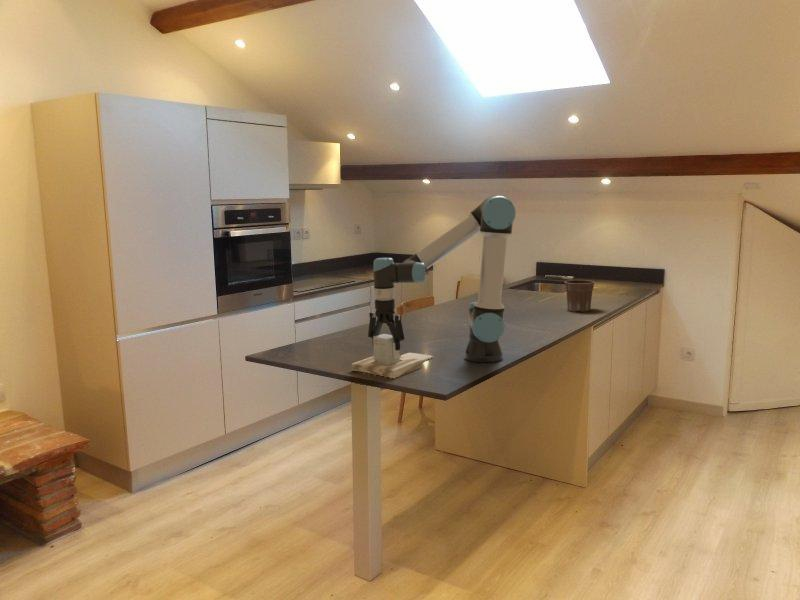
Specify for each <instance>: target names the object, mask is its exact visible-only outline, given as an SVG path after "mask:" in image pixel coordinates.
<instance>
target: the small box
mask: <svg viewBox="0 0 800 600" xmlns="http://www.w3.org/2000/svg"><path fill="white" fill-rule="evenodd" d="M393 342H394V339H393V337H392V334H387V333H382V334H381V333H380V334H379V335H377V336H373V339H372V346H373V345H374V347H373V356H374V364H378V365H384V366H390V365H393V364H395V363H398V362H400V356H401V355H399V358H397V359H393Z"/></svg>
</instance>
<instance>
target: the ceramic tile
mask: <svg viewBox="0 0 800 600" xmlns="http://www.w3.org/2000/svg"><path fill="white" fill-rule="evenodd" d="M400 356H401V357H407V358H414V359H420V360H422V363H425V362H426V360H427V361H429V360H432V359H433V358H434V355H429V354H424V353H415V352H407V353H404V354H402V355H400ZM431 358H432V359H431ZM428 359H429V360H428Z"/></svg>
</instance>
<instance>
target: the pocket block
mask: <svg viewBox="0 0 800 600" xmlns="http://www.w3.org/2000/svg"><path fill="white" fill-rule="evenodd" d="M399 356H400V362H398V363H395V364H393V365H390V366H384V365H378V364H374V355H373V356H369V357H367V358H364V359H362V360H358V361H355V362H353V363H351V369H352V368H353V369H357V370H361V371H364V372H368V373H372V374H376V375H380V376H379V377H381V376H384V377H383V378H387V377H389V378H388V379H392V378H394V379H397V378H399V377H402V376H404V375H406V373H407V374H409V373H411V372H413V371H417V370H418V369H421V368H422V367H423V366H422V365H423V364H422V363H423V362H422V360H420V359H414V358H407V357H401V355H399ZM376 375H375V376H376ZM401 375H402V376H401ZM396 377H397V378H396Z"/></svg>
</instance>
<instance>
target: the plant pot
mask: <svg viewBox="0 0 800 600" xmlns="http://www.w3.org/2000/svg"><path fill="white" fill-rule="evenodd" d="M595 283H596V282H595V281H594V280H589V279H588V280H587V279H586V280H585V279H569V280H565V281H564V284H565V285H564V287H565V290H566V305H567V310H568V312H569V311H570V312H577V313H578V312H581V313H584V312H589V311H591V307H592V306H591V305H592V299H593V290H594V285H595Z"/></svg>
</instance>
